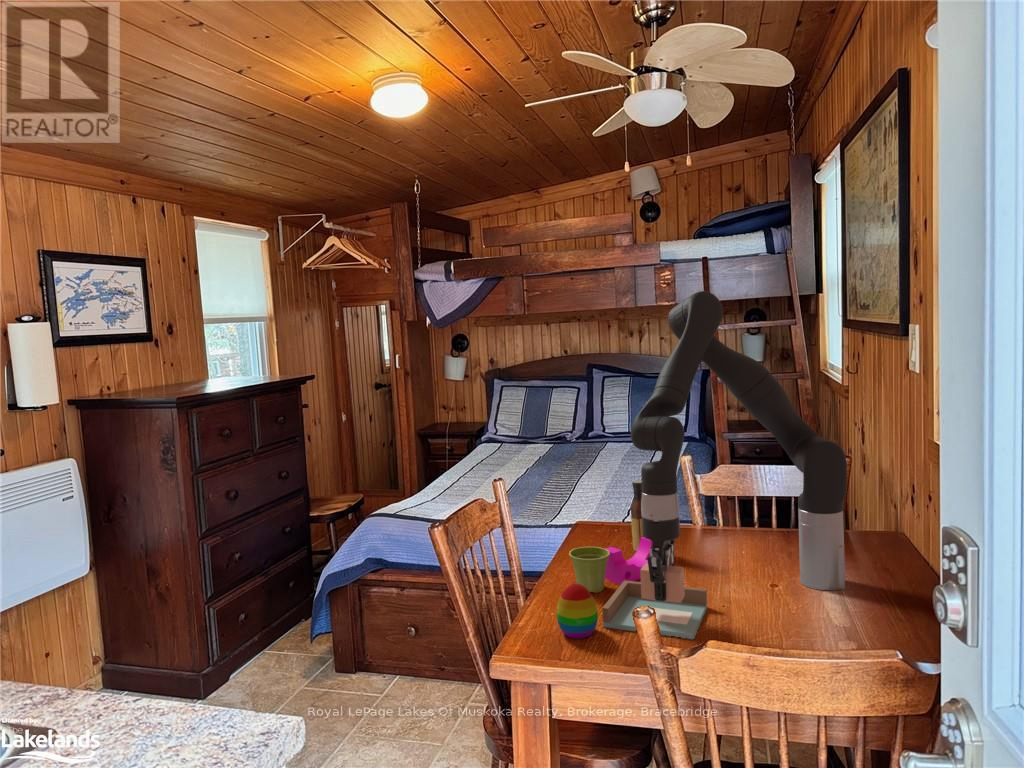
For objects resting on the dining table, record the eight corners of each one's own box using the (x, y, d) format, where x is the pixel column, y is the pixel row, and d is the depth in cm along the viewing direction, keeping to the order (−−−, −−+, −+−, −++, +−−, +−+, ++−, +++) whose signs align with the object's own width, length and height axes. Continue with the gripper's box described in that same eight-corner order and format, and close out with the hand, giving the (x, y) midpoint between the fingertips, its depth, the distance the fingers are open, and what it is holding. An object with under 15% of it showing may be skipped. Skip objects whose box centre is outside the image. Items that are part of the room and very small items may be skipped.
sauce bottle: (660, 552, 181) (657, 479, 180) (652, 559, 176) (649, 484, 175) (637, 549, 185) (634, 477, 183) (628, 556, 180) (625, 482, 178)
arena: (707, 607, 144) (706, 589, 144) (693, 639, 130) (692, 619, 130) (624, 597, 152) (624, 580, 152) (603, 627, 138) (602, 607, 137)
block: (646, 591, 143) (645, 563, 142) (684, 595, 139) (683, 567, 139) (641, 598, 139) (640, 569, 139) (680, 603, 136) (679, 573, 135)
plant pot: (587, 578, 165) (586, 543, 165) (619, 587, 159) (617, 551, 158) (562, 590, 159) (560, 553, 158) (594, 599, 152) (592, 561, 151)
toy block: (622, 586, 159) (620, 555, 159) (603, 579, 165) (602, 549, 164) (665, 571, 168) (664, 541, 167) (647, 565, 173) (646, 536, 173)
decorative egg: (591, 644, 130) (589, 593, 130) (551, 639, 134) (549, 589, 133) (603, 626, 138) (601, 578, 137) (565, 622, 141) (563, 575, 140)
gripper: (650, 503, 146) (653, 581, 147) (632, 521, 133) (636, 606, 134) (685, 506, 143) (688, 585, 144) (671, 524, 130) (674, 611, 131)
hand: (663, 595), depth 139 cm, fingers closed on block, 4 cm apart
